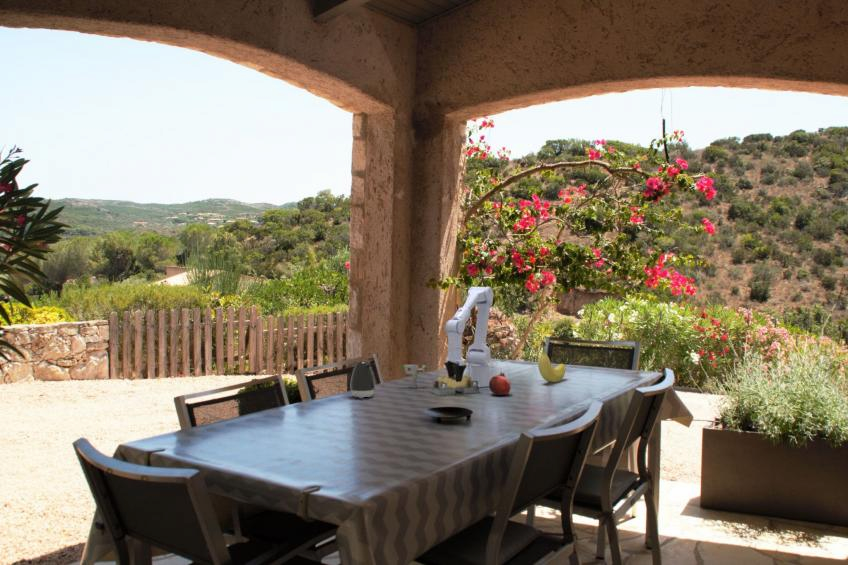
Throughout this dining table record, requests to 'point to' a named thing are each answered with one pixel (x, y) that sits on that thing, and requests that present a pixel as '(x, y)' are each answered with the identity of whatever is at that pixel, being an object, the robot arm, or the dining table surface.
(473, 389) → the chain end
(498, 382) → the fruit
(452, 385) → the master link
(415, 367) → the mechanical component
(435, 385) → the chain end
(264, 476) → the dining table surface
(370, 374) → the dark grey speaker
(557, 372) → the banana
